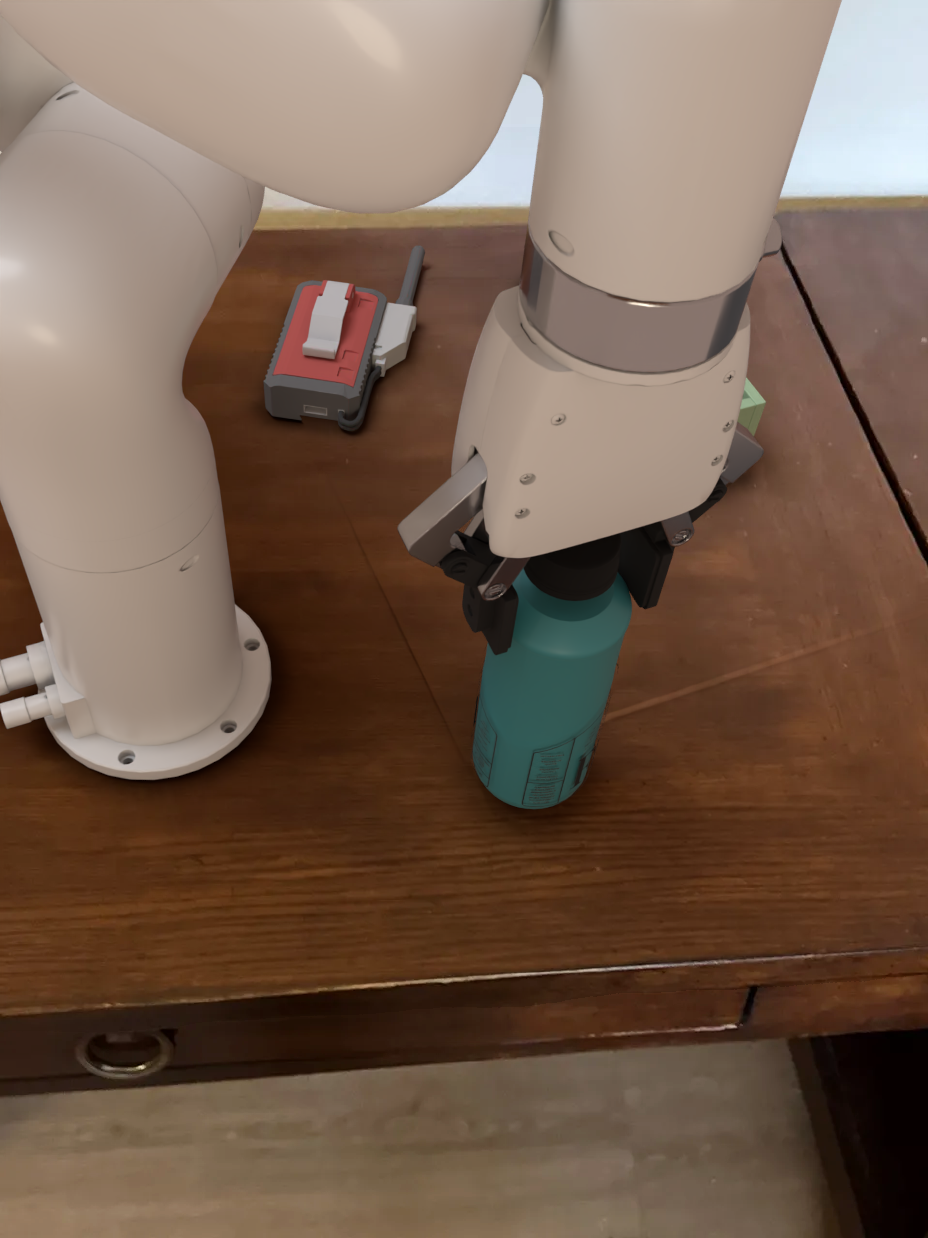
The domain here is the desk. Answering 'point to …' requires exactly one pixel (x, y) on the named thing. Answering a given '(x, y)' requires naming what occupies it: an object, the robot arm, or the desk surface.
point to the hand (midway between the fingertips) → (562, 604)
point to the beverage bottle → (552, 675)
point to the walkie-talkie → (339, 347)
